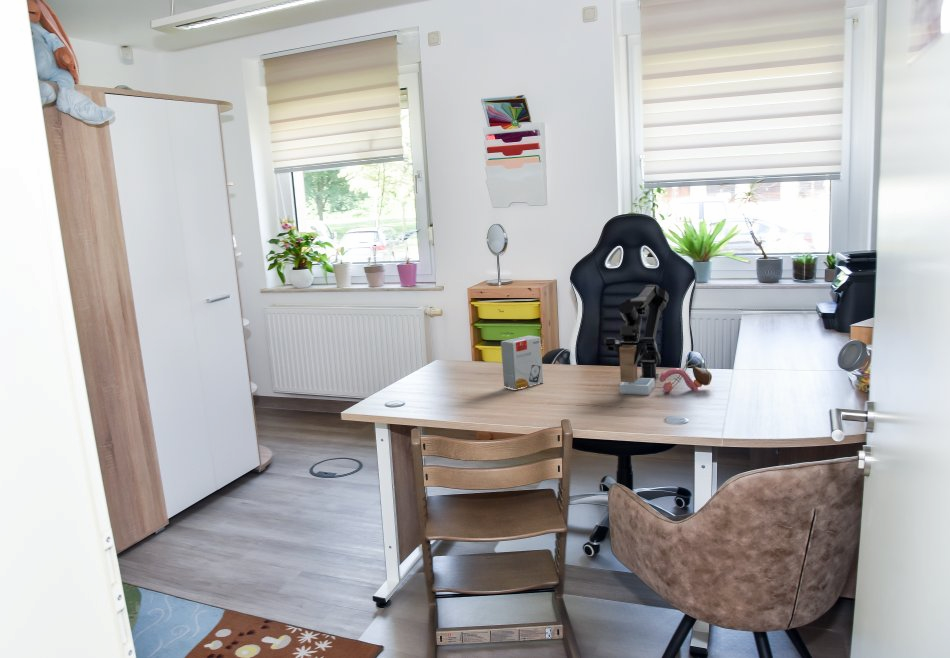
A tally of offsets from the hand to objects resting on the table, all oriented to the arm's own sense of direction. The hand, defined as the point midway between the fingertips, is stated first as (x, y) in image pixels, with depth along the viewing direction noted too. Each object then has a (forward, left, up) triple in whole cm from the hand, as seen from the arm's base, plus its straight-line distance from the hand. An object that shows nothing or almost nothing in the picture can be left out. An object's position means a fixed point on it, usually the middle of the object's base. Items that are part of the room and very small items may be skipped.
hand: (627, 363), depth 255 cm
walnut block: (-2, 0, -7) cm, 7 cm away
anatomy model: (-9, +19, -12) cm, 24 cm away
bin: (-7, +2, -12) cm, 14 cm away
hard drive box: (-8, -46, -12) cm, 48 cm away
